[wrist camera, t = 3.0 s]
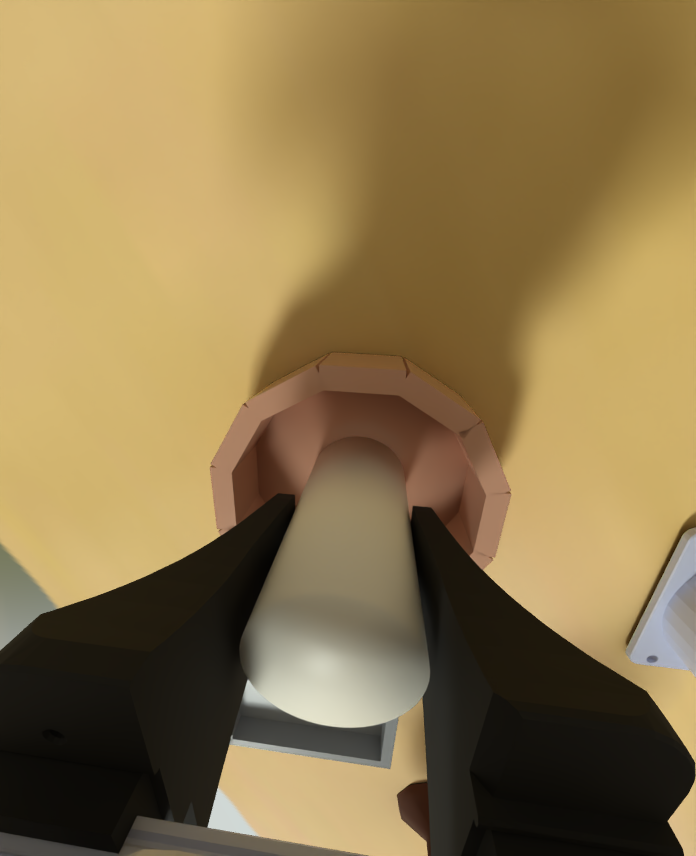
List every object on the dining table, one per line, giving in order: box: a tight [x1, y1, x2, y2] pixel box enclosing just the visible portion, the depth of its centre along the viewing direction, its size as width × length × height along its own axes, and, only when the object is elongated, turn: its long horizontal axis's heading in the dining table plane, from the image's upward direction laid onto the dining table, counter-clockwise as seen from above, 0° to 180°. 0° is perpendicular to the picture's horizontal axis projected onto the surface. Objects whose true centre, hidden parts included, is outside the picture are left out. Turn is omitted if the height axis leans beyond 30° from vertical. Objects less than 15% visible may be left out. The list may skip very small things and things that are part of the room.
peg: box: [239, 436, 430, 728], centre depth 11 cm, size 4×4×8 cm
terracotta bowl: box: [210, 352, 511, 570], centre depth 13 cm, size 11×11×3 cm
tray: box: [229, 680, 398, 769], centre depth 19 cm, size 10×10×2 cm
